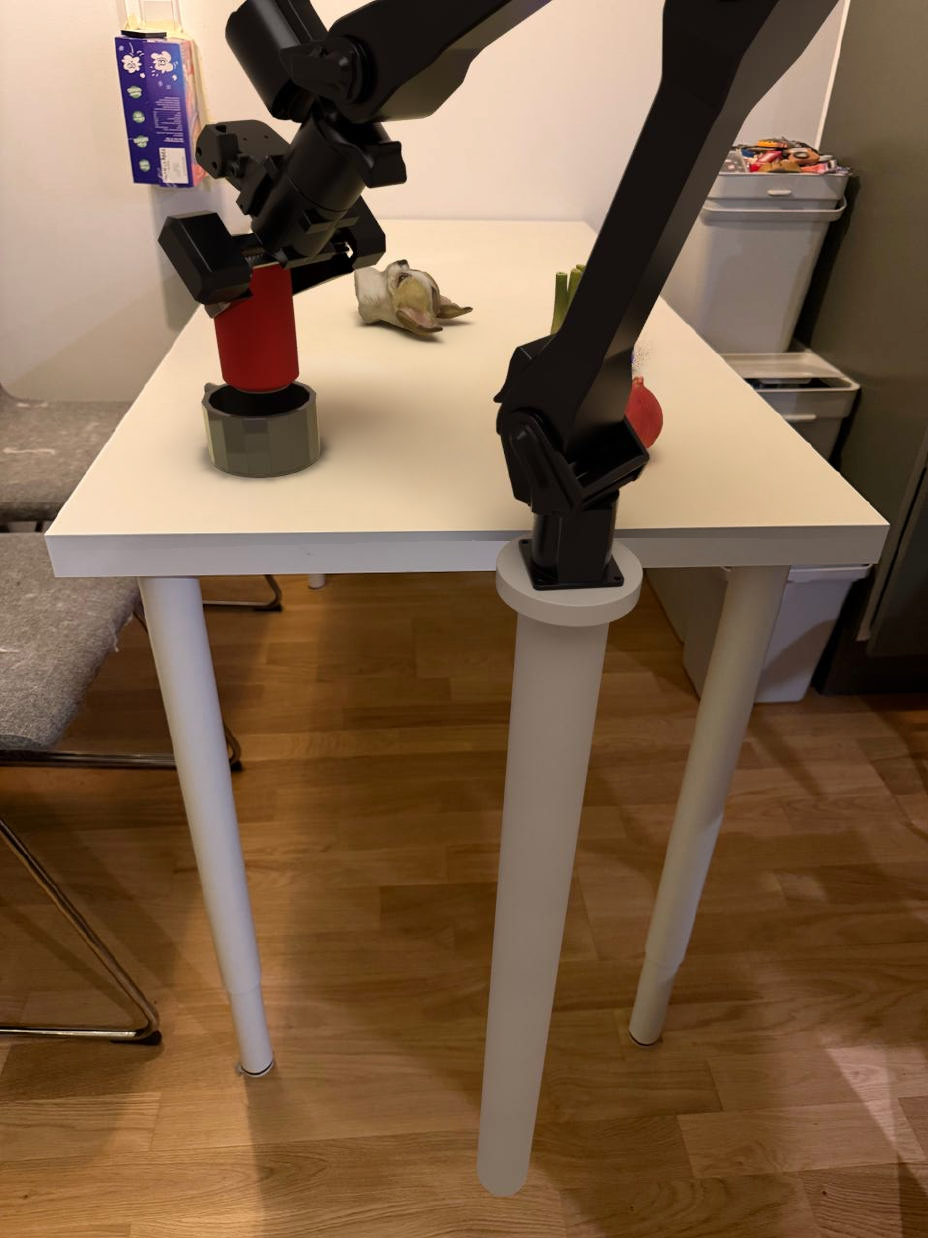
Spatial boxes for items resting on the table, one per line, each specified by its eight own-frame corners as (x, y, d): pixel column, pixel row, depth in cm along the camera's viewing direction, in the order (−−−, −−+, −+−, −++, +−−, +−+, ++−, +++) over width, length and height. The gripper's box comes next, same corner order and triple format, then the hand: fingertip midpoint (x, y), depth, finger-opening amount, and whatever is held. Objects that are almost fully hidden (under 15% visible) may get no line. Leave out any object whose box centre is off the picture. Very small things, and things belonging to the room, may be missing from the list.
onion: (587, 464, 81) (596, 380, 77) (602, 441, 86) (613, 360, 81) (649, 476, 80) (663, 390, 75) (662, 452, 84) (675, 370, 80)
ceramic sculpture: (375, 240, 116) (478, 261, 112) (373, 306, 121) (473, 329, 117) (333, 258, 108) (443, 281, 104) (333, 328, 113) (438, 353, 109)
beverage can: (288, 367, 82) (274, 228, 75) (310, 391, 77) (297, 245, 70) (215, 377, 79) (194, 234, 73) (233, 402, 74) (212, 252, 68)
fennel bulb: (548, 384, 98) (558, 272, 91) (536, 369, 102) (545, 260, 95) (598, 381, 99) (611, 270, 93) (584, 366, 103) (595, 259, 96)
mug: (342, 452, 83) (339, 396, 79) (258, 488, 76) (251, 428, 73) (253, 416, 89) (247, 362, 86) (169, 445, 83) (159, 389, 80)
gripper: (355, 75, 69) (277, 209, 81) (147, 84, 57) (92, 240, 69) (430, 197, 69) (342, 313, 81) (239, 232, 57) (169, 362, 69)
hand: (243, 304), depth 75 cm, fingers closed on beverage can, 7 cm apart
